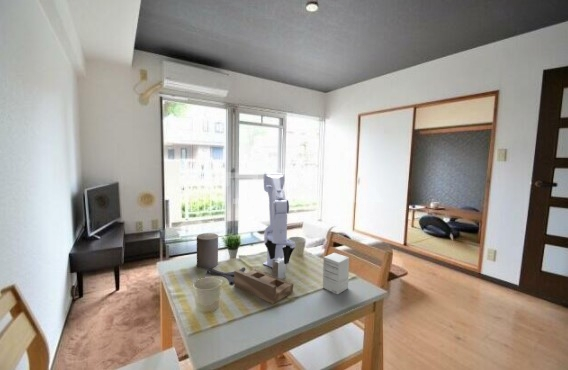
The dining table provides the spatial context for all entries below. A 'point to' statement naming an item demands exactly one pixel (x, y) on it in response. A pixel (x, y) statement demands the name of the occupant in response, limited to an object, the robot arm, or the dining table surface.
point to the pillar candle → (207, 250)
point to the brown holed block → (262, 285)
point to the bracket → (224, 274)
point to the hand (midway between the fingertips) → (279, 260)
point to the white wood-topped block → (279, 268)
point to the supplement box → (335, 273)
